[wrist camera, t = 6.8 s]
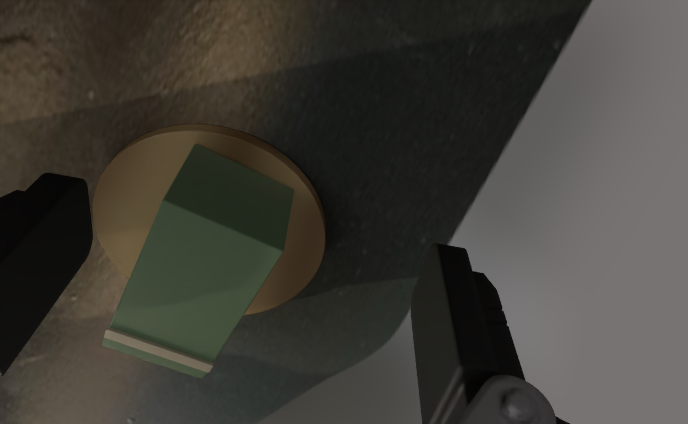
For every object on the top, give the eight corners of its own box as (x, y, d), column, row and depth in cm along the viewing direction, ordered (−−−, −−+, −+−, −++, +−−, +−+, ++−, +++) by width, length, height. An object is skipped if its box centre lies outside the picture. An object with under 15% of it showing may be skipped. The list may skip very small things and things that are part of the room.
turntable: (349, 153, 30) (349, 161, 29) (303, 321, 38) (302, 331, 38) (92, 97, 28) (85, 104, 27) (102, 287, 37) (97, 296, 36)
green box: (194, 141, 29) (160, 201, 24) (295, 189, 30) (284, 254, 25) (135, 277, 35) (98, 348, 30) (223, 310, 36) (202, 382, 31)
